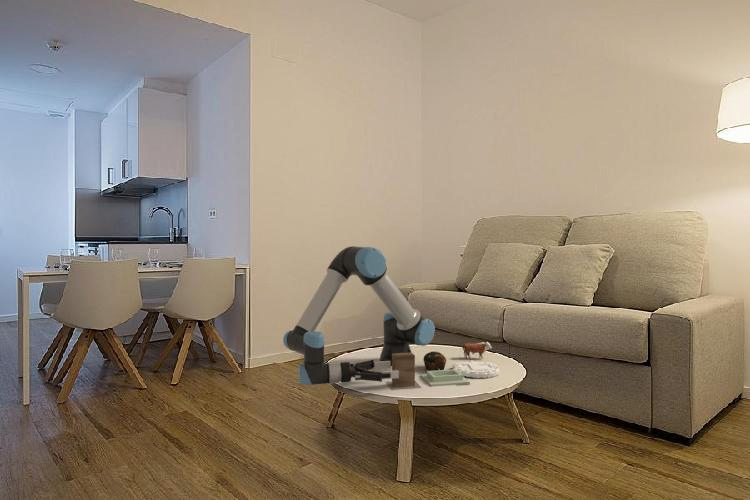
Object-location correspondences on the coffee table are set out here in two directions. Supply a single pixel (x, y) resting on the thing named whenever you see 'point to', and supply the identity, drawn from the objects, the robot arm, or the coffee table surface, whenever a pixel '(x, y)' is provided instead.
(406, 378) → the brown wooden block
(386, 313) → the robot arm
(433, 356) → the decorative turtle
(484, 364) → the white textured flat disc
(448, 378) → the tray
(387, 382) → the mat
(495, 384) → the coffee table surface
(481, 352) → the bull figurine
